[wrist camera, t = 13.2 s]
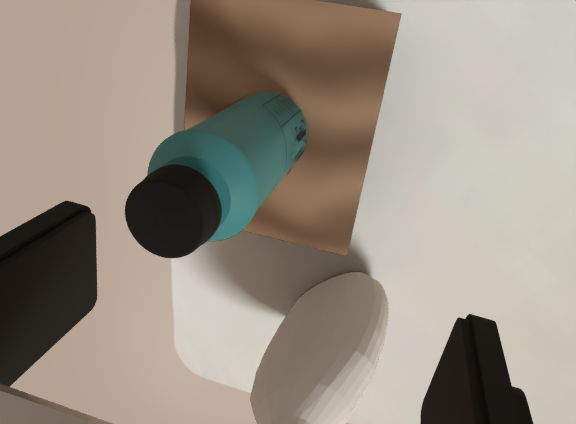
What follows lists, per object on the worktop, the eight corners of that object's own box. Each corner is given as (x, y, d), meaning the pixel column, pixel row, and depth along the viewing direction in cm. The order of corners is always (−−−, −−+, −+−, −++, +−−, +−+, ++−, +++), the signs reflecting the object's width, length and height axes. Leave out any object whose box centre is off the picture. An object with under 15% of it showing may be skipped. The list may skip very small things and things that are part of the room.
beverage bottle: (229, 95, 38) (69, 164, 20) (306, 77, 36) (203, 137, 18) (249, 170, 41) (120, 292, 23) (323, 157, 38) (246, 281, 21)
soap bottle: (308, 352, 56) (230, 607, 32) (267, 301, 55) (153, 528, 30) (414, 301, 50) (416, 569, 26) (371, 243, 49) (331, 468, 24)
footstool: (226, -14, 42) (191, -20, 36) (402, 13, 40) (401, 13, 33) (210, 188, 51) (180, 215, 44) (355, 222, 48) (346, 255, 41)
